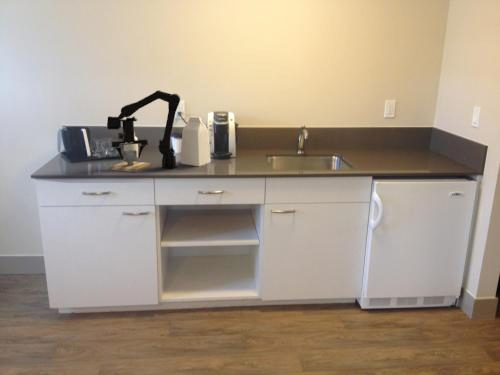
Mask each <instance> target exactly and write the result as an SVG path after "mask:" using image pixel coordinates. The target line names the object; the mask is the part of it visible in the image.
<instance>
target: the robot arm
mask: <svg viewBox="0 0 500 375" xmlns="http://www.w3.org/2000/svg"><path fill="white" fill-rule="evenodd" d="M156 100H161V101H164V102H165V103H166V102H167V104H168V105H167V107H168V112H167V117H166V118H167V119H166V123H165V128H164V133H163V136H162V137H163V138H159V142H158V143H159V145H158V147H157V148H158V150H159V151H158V152H159V153H160V154H161V155H162V159H161V169H169V170H170V169H171V170H173V169H175V168H177V167H178V164H177V162H176V161H177V159H176V157H177V156H176V155H175V152H176V150H174V149H173V148H172V132H173V129H174V127H173V126H174V124H175V123H174V122H175V117H176V112H177V110H178V107H179V105H180V102H181V96H180V95H179V94H178V93H168V92H164V91H161V90H158V89H157V90H156V91H155V92H153V93H151V94H149V95H147V96H146V97H144V98H141V99H139V100H138V101H136V102H131V103H128V104H126V105H124V106H122V107H121V108H120V113H119V115H118V116H107V123H106V128H107V130H112V131H113V130H118V131H119V130H120V128H122V132H118V133H117V139H113V140H110V142H109V144H110V147H111V148H113V149H115V150H116V151H117V153H118V156H119V159H120V160H123V156H122V155H123V153H122V148H121V147H120V146H124V145H128V144H138V157H137V159H140V157H141V155H142V152H143V150H144V148H145V147H146V146H148V145H149V141H148V139H146V138H145V137H143V138H141V137H140V138H137V139H138V140H135V139H134V132H135V126H134V122H137V121H138V119H137V118H136V116H132V115H133V114H135V113H136V112H137V111H139V110H140V109H141V108H143V107H146V106H147V105H149V104H151V103H153V102H154V101H156ZM131 116H132V117H131ZM124 118H125V119H124ZM119 140H120V141H119ZM125 142H127V143H125ZM130 142H133V143H130Z"/></svg>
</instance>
